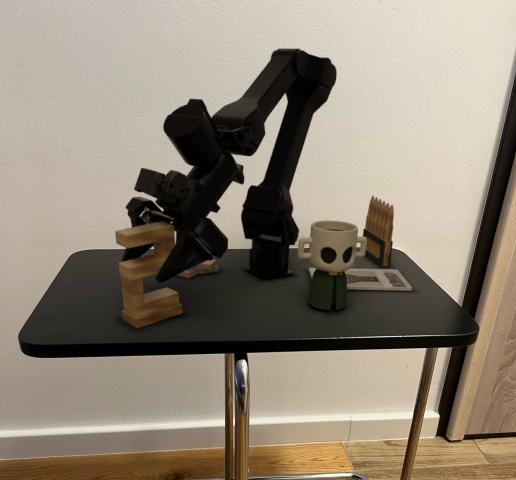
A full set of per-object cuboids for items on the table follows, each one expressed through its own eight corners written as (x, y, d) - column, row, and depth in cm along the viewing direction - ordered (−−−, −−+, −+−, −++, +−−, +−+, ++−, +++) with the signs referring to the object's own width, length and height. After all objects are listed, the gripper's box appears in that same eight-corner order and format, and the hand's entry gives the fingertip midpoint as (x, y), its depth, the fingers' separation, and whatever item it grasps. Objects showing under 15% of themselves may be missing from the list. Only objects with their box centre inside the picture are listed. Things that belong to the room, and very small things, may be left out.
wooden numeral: (167, 305, 84) (161, 220, 78) (182, 313, 82) (177, 225, 75) (122, 320, 80) (111, 230, 73) (136, 328, 77) (126, 236, 71)
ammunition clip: (360, 251, 115) (367, 194, 110) (368, 251, 116) (375, 194, 111) (381, 267, 106) (389, 205, 101) (389, 267, 107) (398, 205, 101)
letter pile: (207, 263, 105) (206, 253, 104) (221, 273, 100) (221, 263, 99) (167, 269, 101) (166, 258, 100) (180, 279, 96) (180, 268, 95)
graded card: (308, 267, 102) (397, 269, 103) (308, 270, 103) (397, 272, 103) (315, 285, 93) (412, 287, 94) (315, 288, 94) (411, 290, 94)
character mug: (299, 316, 83) (305, 232, 77) (288, 299, 89) (293, 220, 83) (367, 313, 85) (377, 231, 79) (351, 296, 91) (360, 219, 85)
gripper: (134, 139, 79) (68, 223, 77) (212, 153, 66) (136, 254, 64) (179, 191, 87) (122, 268, 85) (257, 212, 75) (191, 303, 72)
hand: (140, 272), depth 76 cm, fingers open, 9 cm apart
